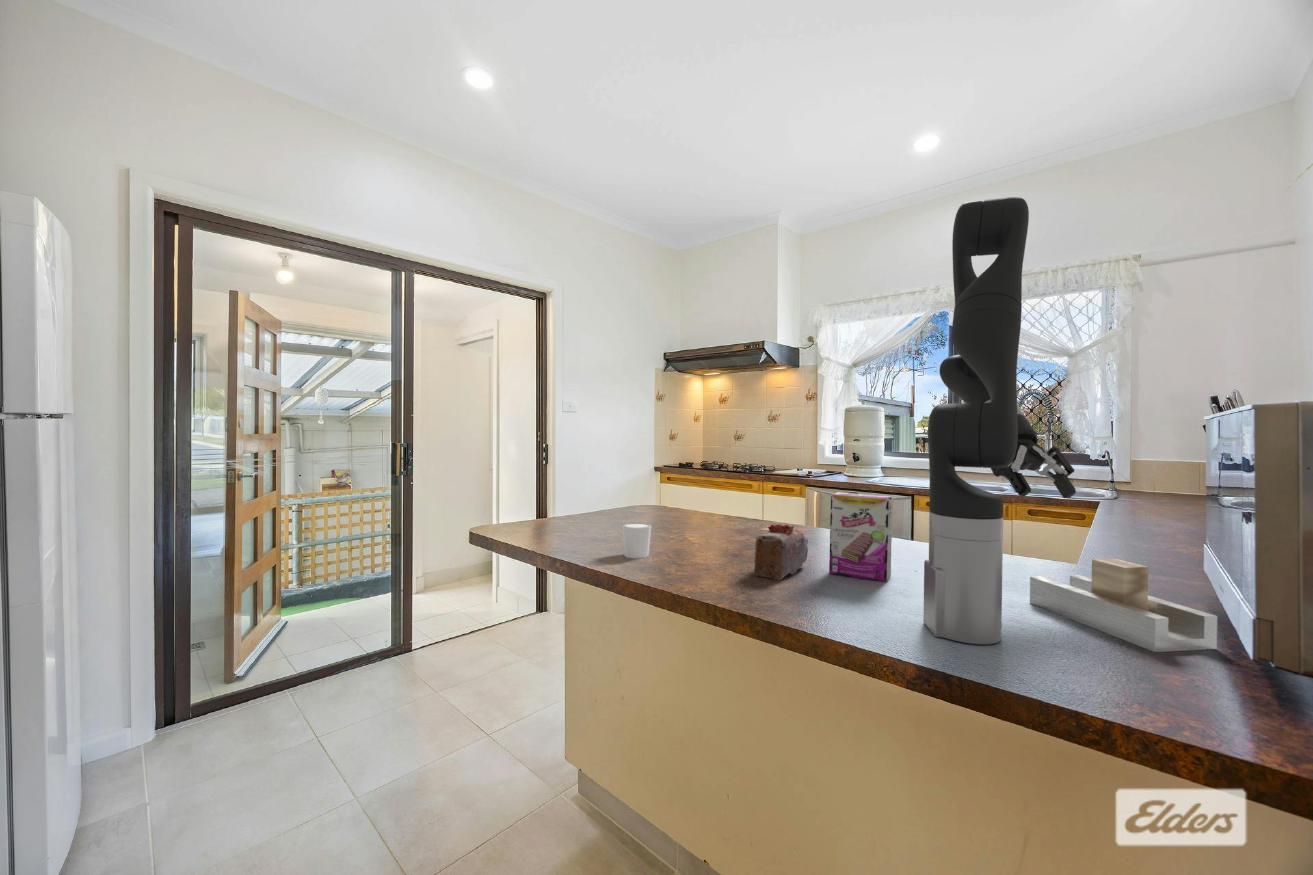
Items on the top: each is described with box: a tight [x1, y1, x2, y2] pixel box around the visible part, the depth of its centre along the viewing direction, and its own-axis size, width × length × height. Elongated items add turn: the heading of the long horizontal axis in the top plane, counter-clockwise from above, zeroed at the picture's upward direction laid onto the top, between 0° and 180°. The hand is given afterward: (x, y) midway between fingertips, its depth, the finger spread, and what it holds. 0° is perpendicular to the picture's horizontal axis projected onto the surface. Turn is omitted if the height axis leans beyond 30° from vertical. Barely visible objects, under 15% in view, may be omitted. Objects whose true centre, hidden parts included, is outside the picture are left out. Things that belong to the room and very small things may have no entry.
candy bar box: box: [828, 491, 894, 583], centre depth 105 cm, size 11×5×16 cm, turn 58°
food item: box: [754, 524, 809, 581], centre depth 108 cm, size 14×8×10 cm, turn 147°
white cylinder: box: [621, 522, 652, 559], centre depth 121 cm, size 7×7×7 cm
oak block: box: [1091, 558, 1149, 611], centre depth 79 cm, size 4×5×8 cm
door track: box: [1029, 574, 1218, 653], centre depth 80 cm, size 10×20×4 cm, turn 7°
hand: (1048, 494), depth 91 cm, fingers open, 8 cm apart
